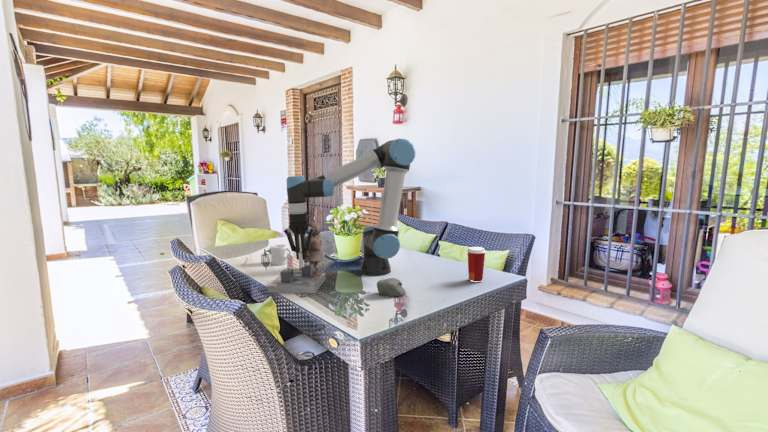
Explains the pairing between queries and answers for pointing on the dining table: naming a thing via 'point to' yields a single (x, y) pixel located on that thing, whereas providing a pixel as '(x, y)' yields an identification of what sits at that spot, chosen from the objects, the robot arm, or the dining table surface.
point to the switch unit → (298, 283)
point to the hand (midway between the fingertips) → (302, 266)
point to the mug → (279, 254)
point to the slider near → (287, 275)
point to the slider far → (307, 269)
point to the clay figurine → (314, 246)
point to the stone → (390, 287)
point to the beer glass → (476, 263)
